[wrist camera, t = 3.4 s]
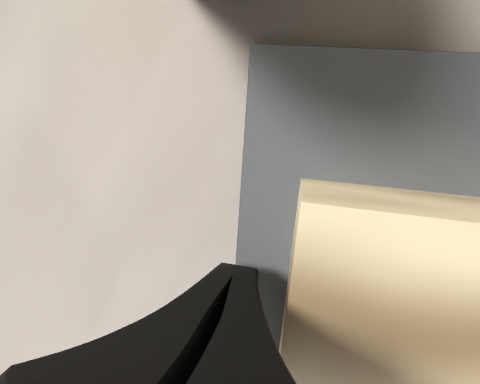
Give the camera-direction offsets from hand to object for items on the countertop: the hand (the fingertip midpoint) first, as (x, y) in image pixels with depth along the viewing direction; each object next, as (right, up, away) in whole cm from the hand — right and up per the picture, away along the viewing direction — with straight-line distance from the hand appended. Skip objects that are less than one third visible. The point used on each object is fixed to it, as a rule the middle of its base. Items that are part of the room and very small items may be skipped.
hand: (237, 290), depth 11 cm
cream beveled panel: (+6, 0, 0) cm, 6 cm away
